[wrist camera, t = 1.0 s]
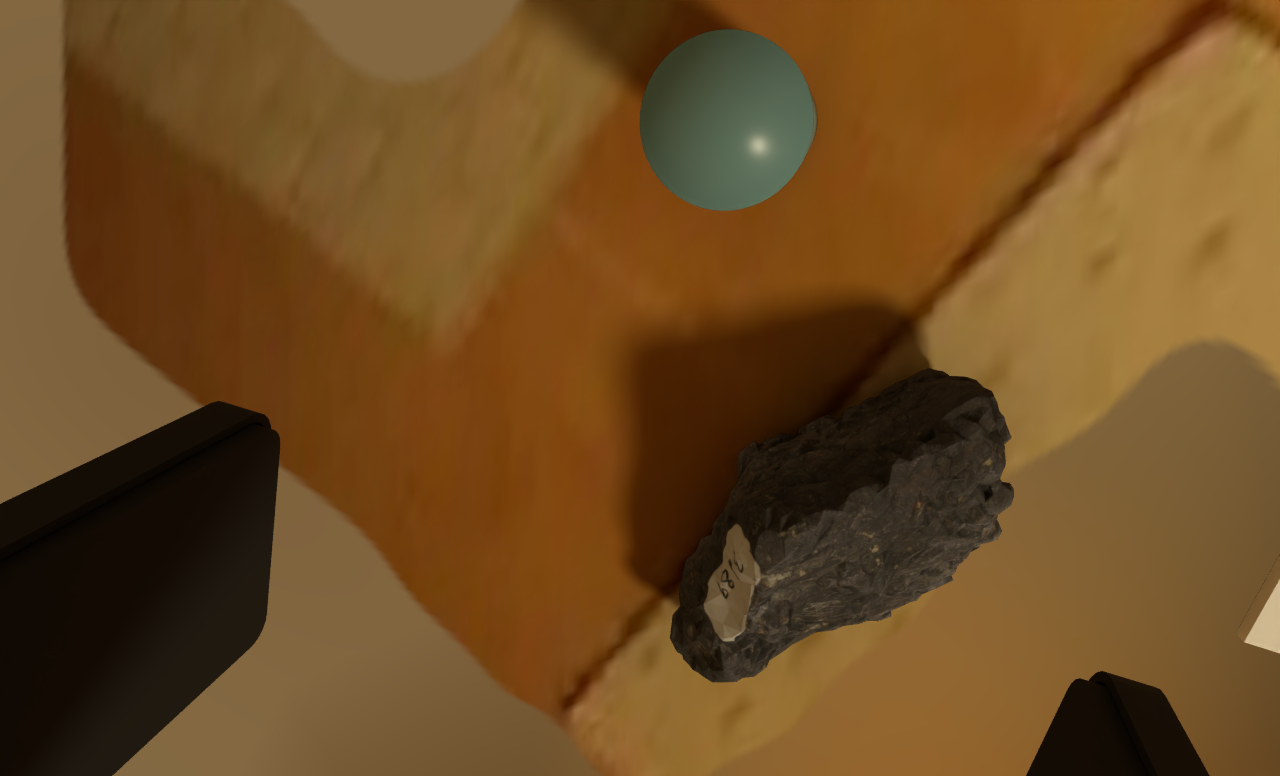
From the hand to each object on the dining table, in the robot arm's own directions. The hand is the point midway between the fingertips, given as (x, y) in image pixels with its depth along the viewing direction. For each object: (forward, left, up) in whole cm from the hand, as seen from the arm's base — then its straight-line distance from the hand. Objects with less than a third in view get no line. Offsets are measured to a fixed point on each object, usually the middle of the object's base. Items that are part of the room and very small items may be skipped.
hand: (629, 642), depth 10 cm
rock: (+7, +5, -21) cm, 23 cm away
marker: (-5, -2, -21) cm, 22 cm away
